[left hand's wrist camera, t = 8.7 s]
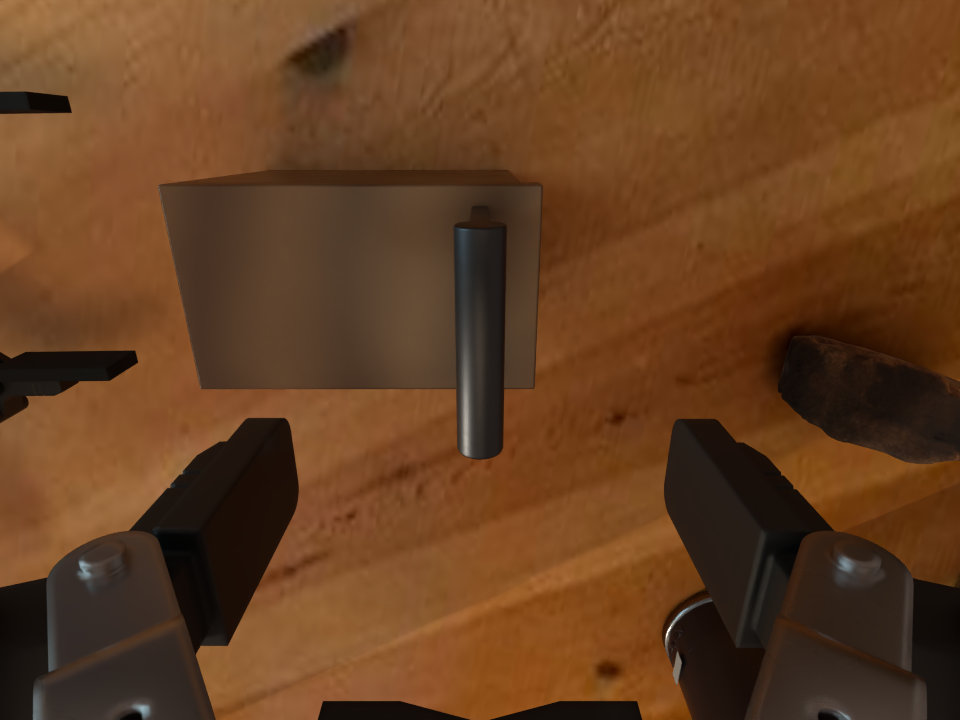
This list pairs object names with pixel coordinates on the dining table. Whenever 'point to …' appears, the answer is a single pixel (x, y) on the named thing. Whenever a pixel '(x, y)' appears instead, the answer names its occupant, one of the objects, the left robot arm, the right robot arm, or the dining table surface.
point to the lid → (363, 289)
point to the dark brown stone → (873, 399)
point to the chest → (366, 176)
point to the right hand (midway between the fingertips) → (90, 245)
